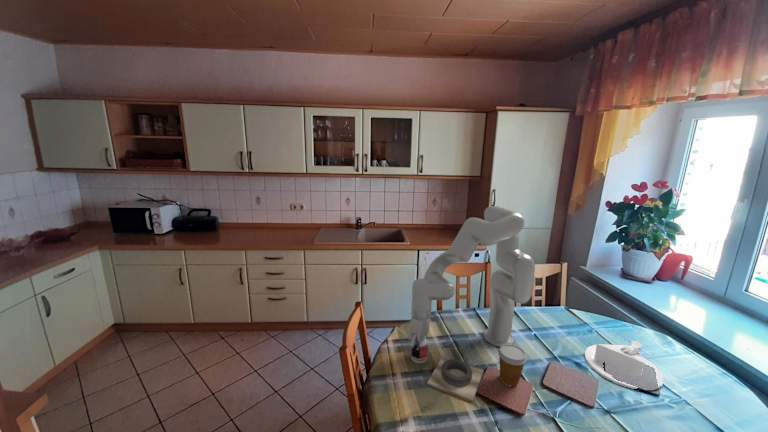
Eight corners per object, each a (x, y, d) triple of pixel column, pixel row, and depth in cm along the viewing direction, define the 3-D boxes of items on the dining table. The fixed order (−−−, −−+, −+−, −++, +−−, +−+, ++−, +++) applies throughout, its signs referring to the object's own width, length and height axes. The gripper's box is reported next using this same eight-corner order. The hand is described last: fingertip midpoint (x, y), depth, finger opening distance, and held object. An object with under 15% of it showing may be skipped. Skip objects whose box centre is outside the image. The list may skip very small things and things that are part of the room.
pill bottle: (429, 360, 127) (431, 335, 124) (417, 366, 123) (418, 340, 121) (419, 351, 132) (420, 327, 129) (407, 357, 128) (408, 332, 126)
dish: (651, 357, 131) (657, 333, 128) (673, 401, 109) (681, 373, 106) (581, 340, 141) (585, 317, 138) (589, 378, 119) (594, 351, 116)
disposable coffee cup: (510, 393, 111) (514, 363, 108) (489, 375, 119) (492, 347, 116) (529, 384, 115) (533, 355, 112) (508, 367, 123) (511, 340, 120)
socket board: (442, 358, 128) (442, 349, 127) (483, 372, 120) (484, 363, 119) (427, 384, 114) (427, 374, 113) (472, 402, 107) (473, 392, 106)
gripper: (420, 299, 131) (418, 337, 136) (402, 319, 117) (400, 361, 121) (438, 303, 128) (435, 343, 132) (421, 325, 113) (419, 368, 118)
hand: (419, 351), depth 127 cm, fingers closed on pill bottle, 6 cm apart
